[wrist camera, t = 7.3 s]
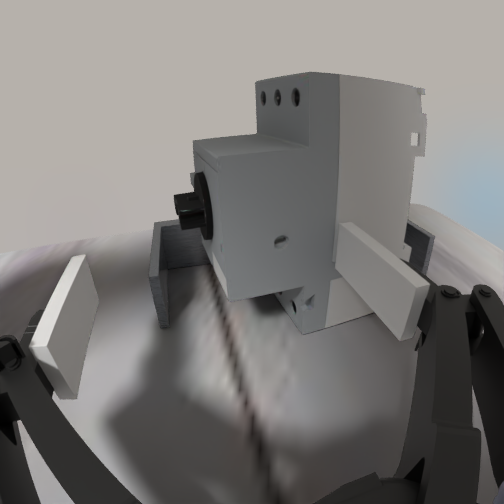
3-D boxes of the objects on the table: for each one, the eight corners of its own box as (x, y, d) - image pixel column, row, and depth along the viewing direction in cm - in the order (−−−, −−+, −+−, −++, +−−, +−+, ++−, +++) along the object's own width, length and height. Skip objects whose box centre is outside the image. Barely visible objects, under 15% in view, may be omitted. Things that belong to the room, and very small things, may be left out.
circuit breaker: (186, 292, 24) (162, 87, 17) (346, 258, 28) (355, 86, 21) (205, 359, 18) (170, 74, 11) (399, 303, 21) (427, 89, 15)
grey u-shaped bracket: (160, 328, 20) (148, 276, 18) (161, 263, 28) (154, 222, 26) (424, 278, 24) (434, 236, 23) (371, 236, 32) (375, 200, 31)
